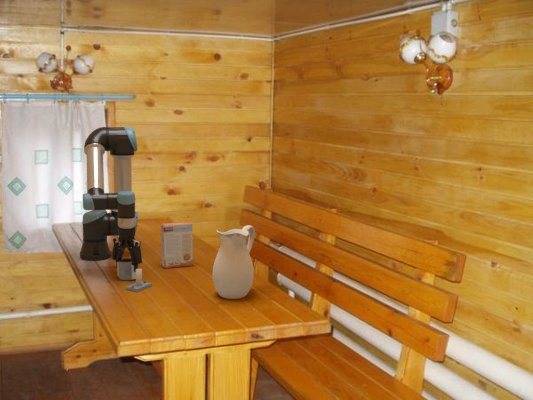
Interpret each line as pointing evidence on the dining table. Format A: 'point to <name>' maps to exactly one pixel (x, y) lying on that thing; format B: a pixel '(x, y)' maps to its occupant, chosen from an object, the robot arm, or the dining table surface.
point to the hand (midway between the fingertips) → (127, 277)
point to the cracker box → (177, 244)
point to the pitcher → (234, 263)
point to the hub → (125, 268)
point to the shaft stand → (138, 282)
